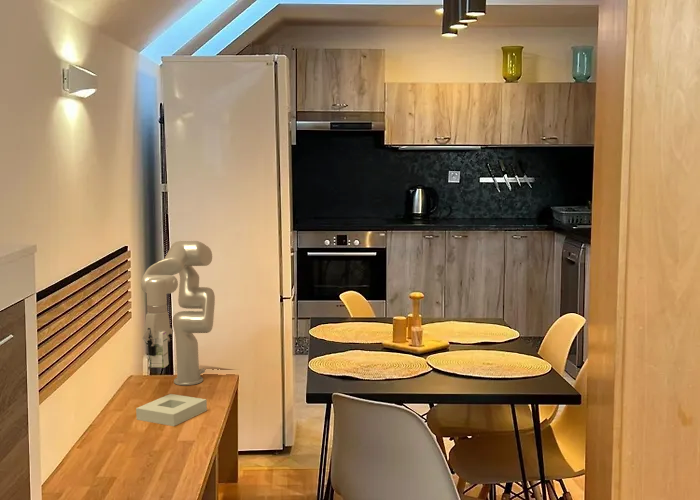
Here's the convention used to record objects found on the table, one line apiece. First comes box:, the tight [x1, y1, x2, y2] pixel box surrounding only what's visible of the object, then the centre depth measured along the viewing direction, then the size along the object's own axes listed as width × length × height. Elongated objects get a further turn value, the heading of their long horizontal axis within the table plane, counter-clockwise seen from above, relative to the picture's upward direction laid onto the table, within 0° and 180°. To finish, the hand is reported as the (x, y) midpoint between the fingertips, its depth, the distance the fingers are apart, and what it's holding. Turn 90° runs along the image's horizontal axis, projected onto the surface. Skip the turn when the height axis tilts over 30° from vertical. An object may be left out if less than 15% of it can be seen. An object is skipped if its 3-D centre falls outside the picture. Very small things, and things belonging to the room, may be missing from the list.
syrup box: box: [149, 330, 170, 369], centre depth 322 cm, size 6×6×14 cm
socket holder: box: [135, 393, 208, 427], centre depth 315 cm, size 20×18×4 cm
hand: (159, 353), depth 322 cm, fingers closed on syrup box, 7 cm apart
